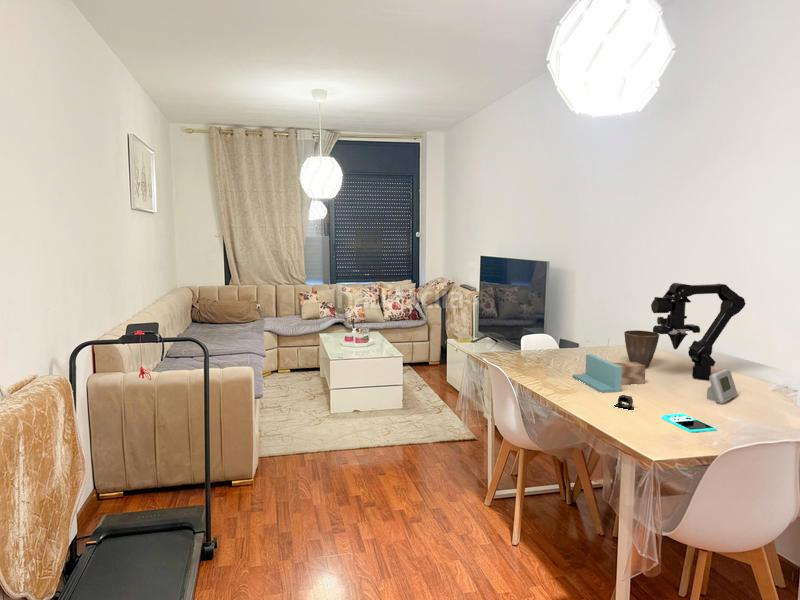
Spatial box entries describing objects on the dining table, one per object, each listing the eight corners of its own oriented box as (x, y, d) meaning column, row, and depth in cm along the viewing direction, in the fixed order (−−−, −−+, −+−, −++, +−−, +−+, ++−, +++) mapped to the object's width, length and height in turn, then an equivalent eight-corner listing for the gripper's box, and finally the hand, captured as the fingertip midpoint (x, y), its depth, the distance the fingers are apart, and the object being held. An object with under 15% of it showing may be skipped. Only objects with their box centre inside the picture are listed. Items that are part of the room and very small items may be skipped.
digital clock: (720, 405, 209) (722, 377, 207) (697, 399, 216) (699, 372, 215) (745, 398, 217) (747, 371, 216) (722, 393, 225) (723, 366, 223)
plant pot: (648, 362, 274) (650, 330, 272) (663, 370, 259) (665, 335, 257) (617, 363, 274) (619, 330, 272) (631, 371, 259) (632, 336, 257)
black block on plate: (604, 407, 209) (604, 395, 209) (613, 402, 214) (613, 390, 214) (637, 415, 201) (638, 402, 200) (646, 410, 206) (647, 397, 205)
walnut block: (634, 380, 245) (635, 361, 244) (644, 384, 238) (645, 365, 237) (600, 382, 242) (601, 363, 241) (609, 386, 235) (610, 367, 234)
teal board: (590, 376, 250) (591, 354, 249) (620, 391, 227) (621, 367, 225) (572, 377, 249) (573, 354, 247) (601, 392, 225) (602, 368, 224)
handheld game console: (683, 416, 199) (683, 412, 199) (718, 432, 183) (718, 428, 183) (658, 418, 197) (658, 414, 196) (690, 434, 181) (691, 430, 181)
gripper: (684, 309, 251) (682, 344, 253) (646, 310, 248) (644, 346, 250) (702, 313, 240) (699, 349, 242) (662, 314, 237) (660, 351, 239)
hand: (675, 349), depth 244 cm, fingers closed
